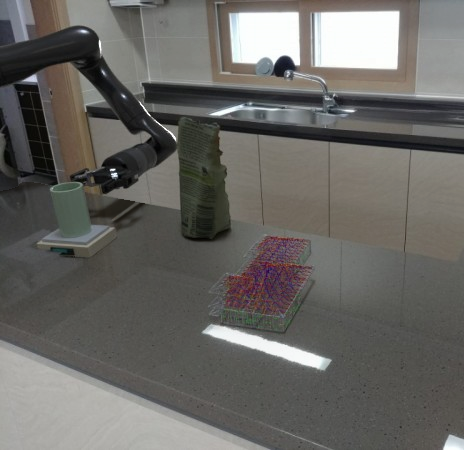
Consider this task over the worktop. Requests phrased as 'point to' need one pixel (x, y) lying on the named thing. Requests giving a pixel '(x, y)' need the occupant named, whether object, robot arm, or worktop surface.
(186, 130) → the pouch
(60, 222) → the cup
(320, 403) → the worktop surface
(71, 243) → the scale
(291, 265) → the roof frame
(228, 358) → the worktop surface
